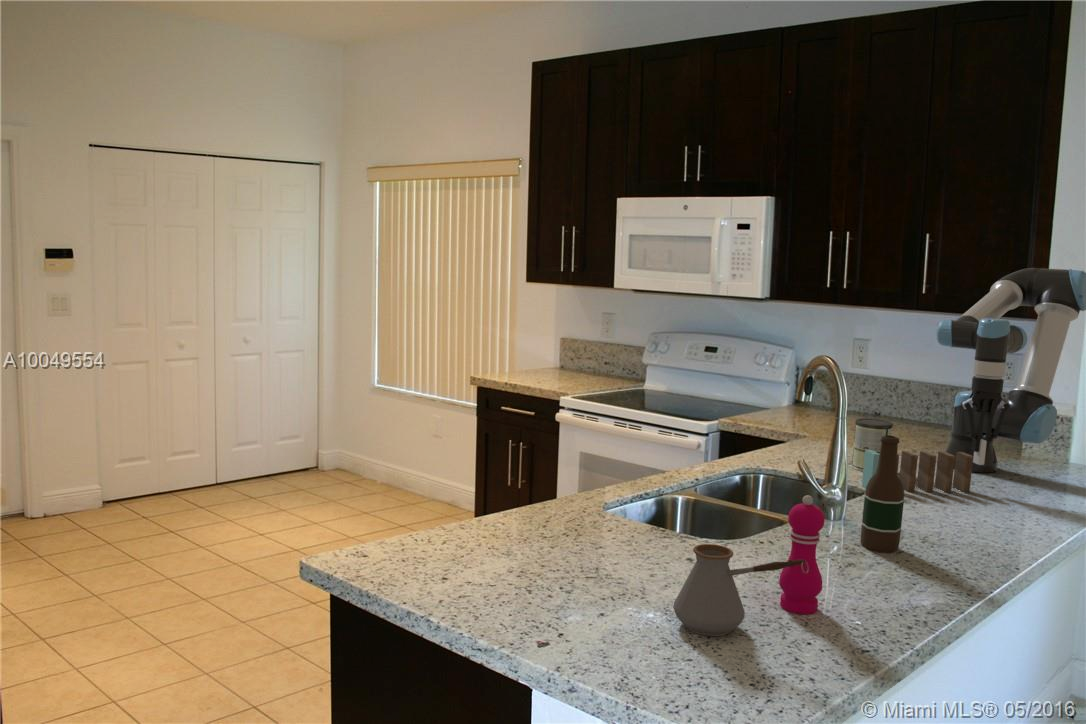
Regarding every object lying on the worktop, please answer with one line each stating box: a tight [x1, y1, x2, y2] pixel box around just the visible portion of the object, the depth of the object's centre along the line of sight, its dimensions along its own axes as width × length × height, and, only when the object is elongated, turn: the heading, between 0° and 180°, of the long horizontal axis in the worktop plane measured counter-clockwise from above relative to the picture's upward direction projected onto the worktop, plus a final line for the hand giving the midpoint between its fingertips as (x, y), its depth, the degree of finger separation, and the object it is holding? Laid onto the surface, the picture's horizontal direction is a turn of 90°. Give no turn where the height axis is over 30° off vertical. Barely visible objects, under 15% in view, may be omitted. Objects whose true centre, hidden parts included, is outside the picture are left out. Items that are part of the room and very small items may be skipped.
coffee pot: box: [672, 543, 809, 637], centre depth 145 cm, size 21×12×15 cm, turn 53°
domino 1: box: [861, 450, 880, 490], centre depth 242 cm, size 2×5×10 cm, turn 7°
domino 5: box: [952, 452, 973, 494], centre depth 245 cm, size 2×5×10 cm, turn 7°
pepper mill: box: [778, 494, 825, 615], centre depth 157 cm, size 7×7×20 cm
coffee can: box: [851, 417, 894, 473], centre depth 264 cm, size 10×10×14 cm
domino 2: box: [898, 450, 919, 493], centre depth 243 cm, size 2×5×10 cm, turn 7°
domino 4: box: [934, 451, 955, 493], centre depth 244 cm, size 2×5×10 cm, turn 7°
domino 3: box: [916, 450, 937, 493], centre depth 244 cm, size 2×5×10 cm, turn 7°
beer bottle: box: [860, 435, 905, 554], centre depth 192 cm, size 8×8×24 cm
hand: (978, 463), depth 245 cm, fingers closed
